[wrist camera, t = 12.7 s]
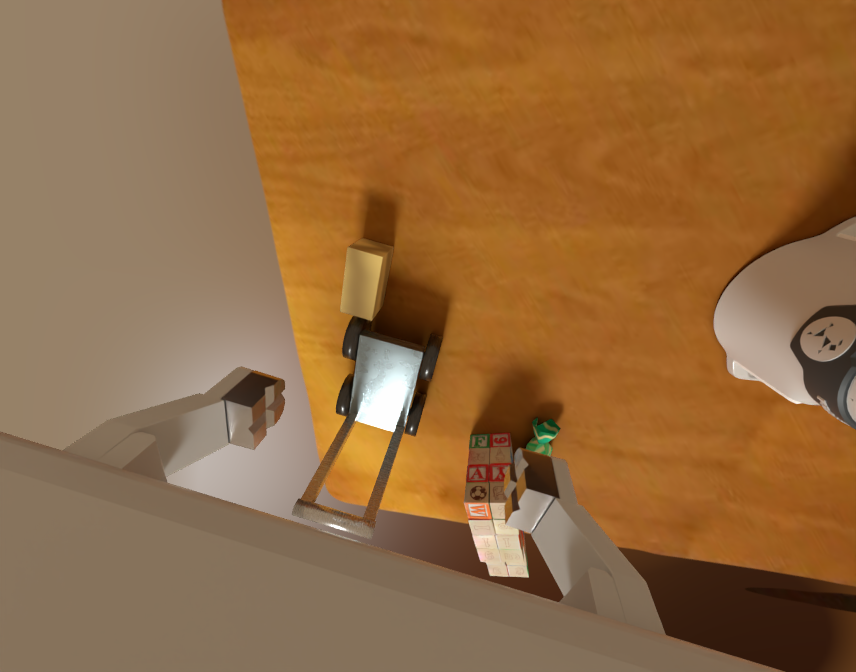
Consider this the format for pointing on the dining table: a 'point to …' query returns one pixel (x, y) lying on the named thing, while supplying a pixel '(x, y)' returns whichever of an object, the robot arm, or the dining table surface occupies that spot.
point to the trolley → (372, 413)
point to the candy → (543, 437)
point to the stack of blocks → (493, 506)
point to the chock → (365, 278)
